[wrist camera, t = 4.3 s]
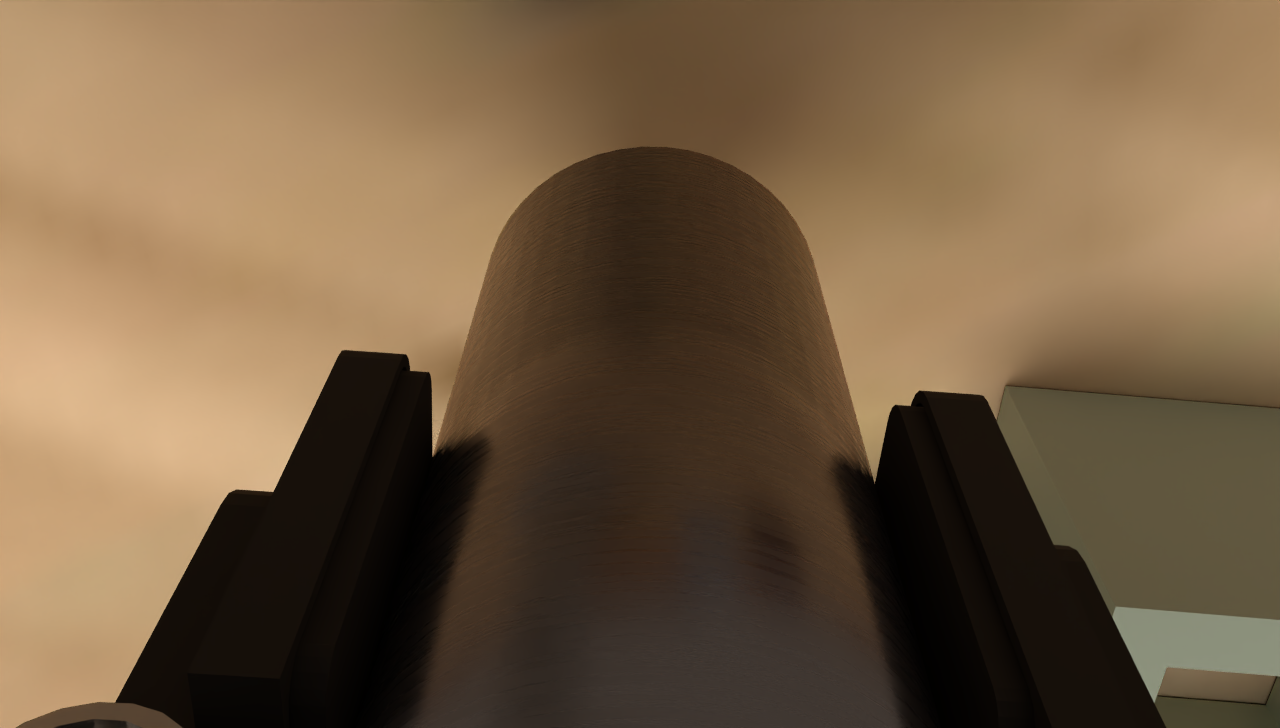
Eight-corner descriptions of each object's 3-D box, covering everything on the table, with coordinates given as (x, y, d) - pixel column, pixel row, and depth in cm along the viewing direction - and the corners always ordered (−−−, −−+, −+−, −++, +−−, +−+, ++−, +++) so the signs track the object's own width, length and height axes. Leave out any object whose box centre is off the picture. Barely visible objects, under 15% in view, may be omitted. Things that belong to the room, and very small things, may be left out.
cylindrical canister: (487, 134, 14) (-87, 1648, 3) (842, 160, 14) (1454, 1714, 3) (482, 434, 16) (122, 1989, 5) (793, 456, 16) (1074, 2023, 5)
